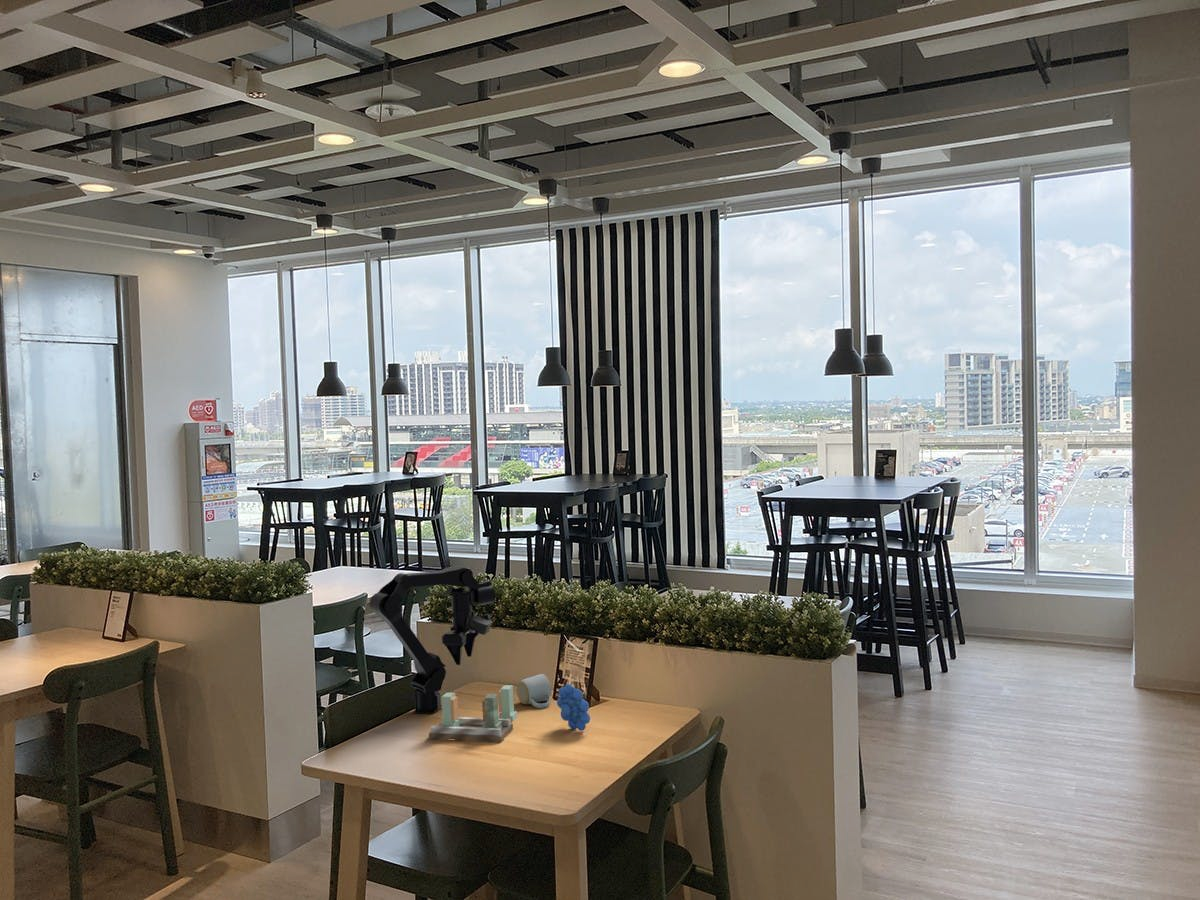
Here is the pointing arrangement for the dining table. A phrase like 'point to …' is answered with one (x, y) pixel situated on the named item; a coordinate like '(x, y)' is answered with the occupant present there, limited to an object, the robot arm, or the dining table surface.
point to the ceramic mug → (534, 691)
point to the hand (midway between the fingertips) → (464, 660)
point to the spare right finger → (506, 703)
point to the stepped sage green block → (450, 710)
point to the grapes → (573, 707)
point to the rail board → (477, 725)
